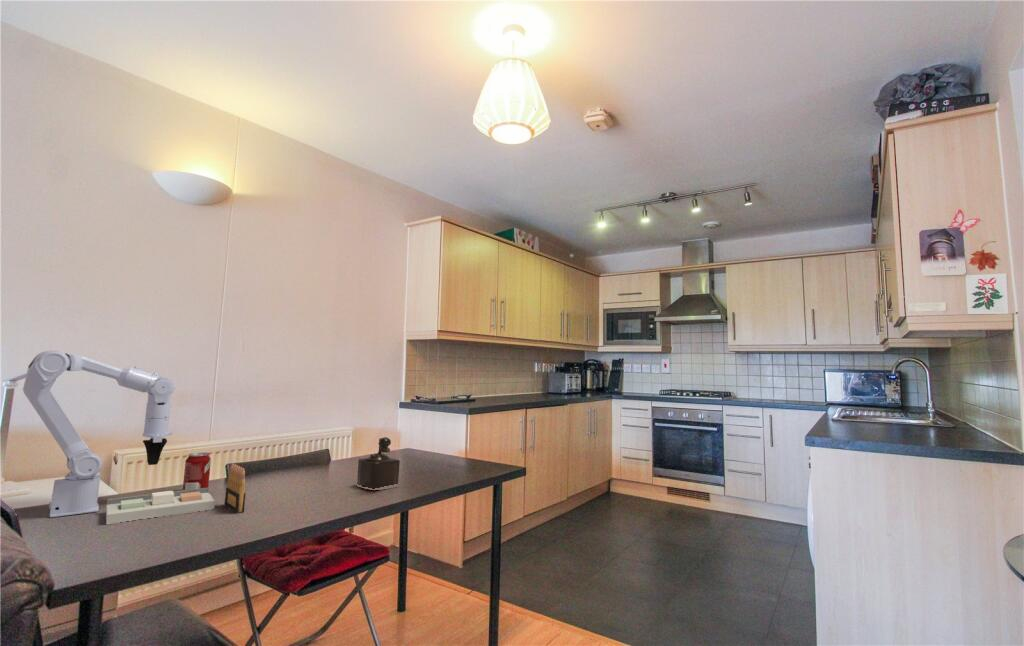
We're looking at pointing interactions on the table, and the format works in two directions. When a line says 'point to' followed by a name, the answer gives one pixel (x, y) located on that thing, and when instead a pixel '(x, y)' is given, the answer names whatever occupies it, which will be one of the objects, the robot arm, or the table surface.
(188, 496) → the key right
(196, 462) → the soda can
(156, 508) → the keypad
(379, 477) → the dark box with figurine
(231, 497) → the pencil pack
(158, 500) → the key middle
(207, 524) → the table surface
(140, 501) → the key left
